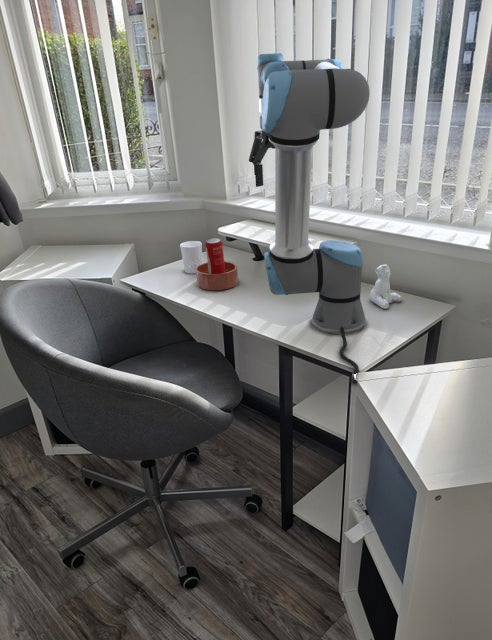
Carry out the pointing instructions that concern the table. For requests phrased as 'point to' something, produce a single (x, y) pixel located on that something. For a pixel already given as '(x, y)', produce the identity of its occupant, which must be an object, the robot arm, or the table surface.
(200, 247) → the white cup
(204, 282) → the bowl
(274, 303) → the table surface
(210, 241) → the beverage can
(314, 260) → the robot arm
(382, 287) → the sitting furry creature
